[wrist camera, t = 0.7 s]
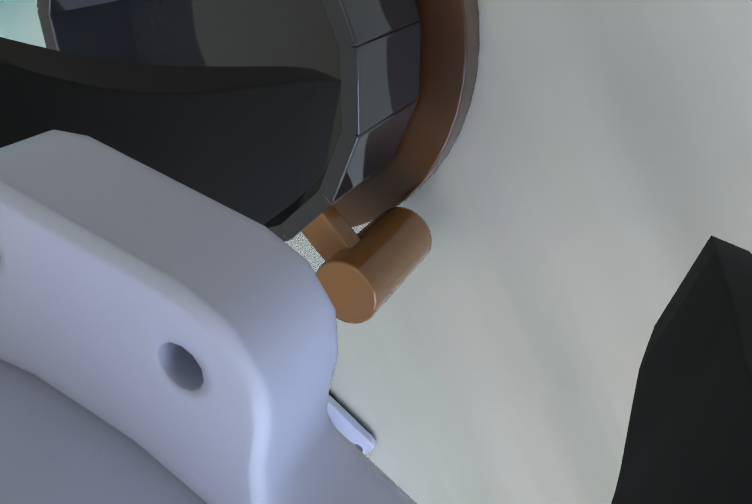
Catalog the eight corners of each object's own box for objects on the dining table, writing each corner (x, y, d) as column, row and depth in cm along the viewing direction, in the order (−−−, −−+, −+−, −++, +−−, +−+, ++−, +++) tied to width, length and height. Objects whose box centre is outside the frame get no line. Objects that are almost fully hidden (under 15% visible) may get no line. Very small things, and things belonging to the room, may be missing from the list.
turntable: (337, 285, 29) (323, 298, 28) (94, 53, 29) (72, 59, 28) (581, 1, 19) (571, 8, 18) (210, -334, 20) (182, -344, 19)
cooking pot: (86, 19, 26) (-25, 43, 23) (234, -271, 19) (102, -307, 15) (331, 317, 27) (263, 386, 24) (567, 160, 20) (521, 225, 16)
